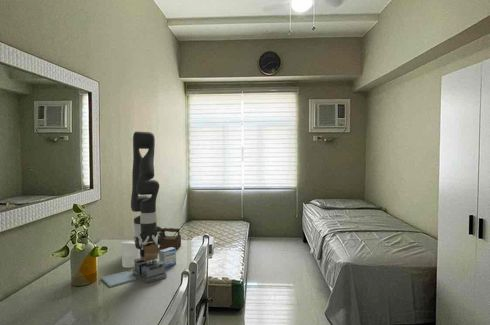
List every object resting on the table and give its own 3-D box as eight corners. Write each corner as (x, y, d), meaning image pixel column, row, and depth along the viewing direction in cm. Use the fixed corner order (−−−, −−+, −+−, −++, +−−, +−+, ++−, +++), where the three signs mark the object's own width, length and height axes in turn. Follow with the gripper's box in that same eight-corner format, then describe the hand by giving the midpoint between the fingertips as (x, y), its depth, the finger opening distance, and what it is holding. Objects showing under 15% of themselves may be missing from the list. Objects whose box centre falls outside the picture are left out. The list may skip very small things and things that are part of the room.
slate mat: (101, 279, 151) (101, 277, 150) (126, 272, 158) (126, 270, 158) (110, 287, 142) (110, 285, 141) (136, 279, 149) (136, 278, 149)
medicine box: (164, 268, 163) (164, 252, 163) (159, 266, 166) (158, 250, 166) (176, 264, 170) (176, 248, 169) (170, 262, 172) (170, 246, 172)
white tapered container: (143, 261, 173) (142, 240, 173) (135, 268, 164) (135, 245, 164) (127, 261, 174) (126, 239, 173) (119, 267, 165) (118, 244, 165)
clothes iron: (158, 245, 203) (157, 224, 202) (182, 245, 201) (181, 225, 200) (153, 249, 195) (152, 227, 194) (177, 249, 193) (177, 228, 192)
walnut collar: (140, 258, 155) (140, 244, 154) (152, 255, 159) (152, 241, 158) (145, 261, 150) (145, 246, 150) (157, 258, 154) (157, 244, 154)
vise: (132, 273, 158) (132, 250, 157) (151, 267, 164) (151, 246, 164) (146, 283, 146) (146, 258, 145) (166, 277, 152) (166, 253, 152)
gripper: (158, 217, 161) (159, 250, 162) (130, 222, 152) (131, 256, 153) (165, 220, 156) (166, 253, 156) (137, 225, 146) (137, 260, 147)
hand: (149, 255), depth 154 cm, fingers closed on walnut collar, 6 cm apart
